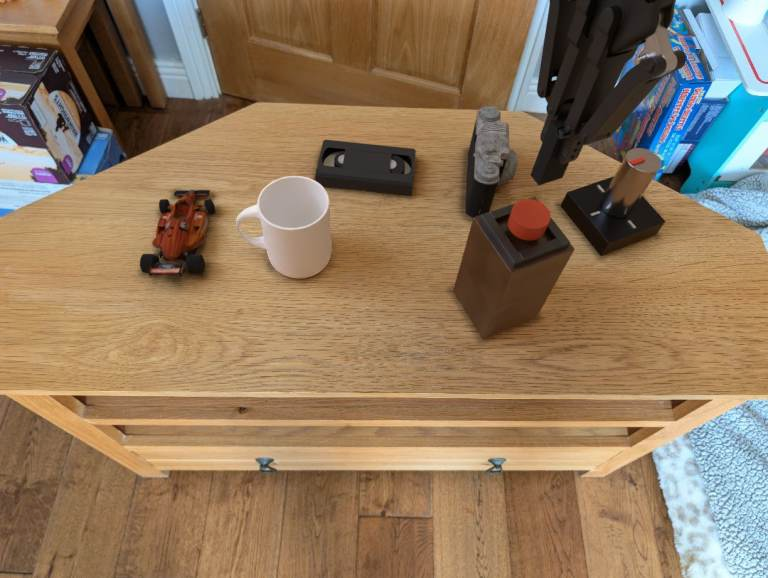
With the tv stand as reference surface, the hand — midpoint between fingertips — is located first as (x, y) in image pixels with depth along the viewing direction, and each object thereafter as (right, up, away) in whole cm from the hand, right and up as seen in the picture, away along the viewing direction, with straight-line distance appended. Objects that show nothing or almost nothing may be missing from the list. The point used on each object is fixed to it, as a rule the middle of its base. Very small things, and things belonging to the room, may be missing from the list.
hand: (546, 176), depth 53 cm
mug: (-29, -6, +23) cm, 37 cm away
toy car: (-43, -4, +23) cm, 49 cm away
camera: (0, +5, +32) cm, 32 cm away
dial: (+18, +1, +26) cm, 31 cm away
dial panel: (+17, -1, +29) cm, 33 cm away
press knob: (0, -4, +6) cm, 7 cm away
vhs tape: (-18, +7, +32) cm, 37 cm away
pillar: (-1, -13, +20) cm, 24 cm away
